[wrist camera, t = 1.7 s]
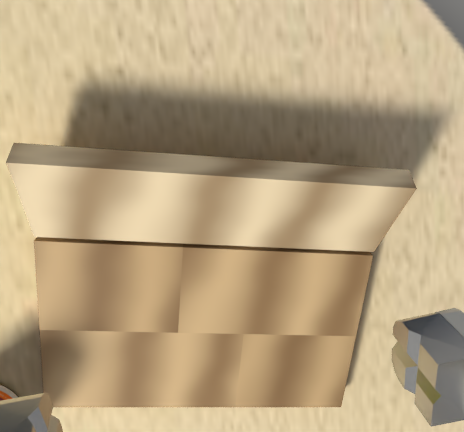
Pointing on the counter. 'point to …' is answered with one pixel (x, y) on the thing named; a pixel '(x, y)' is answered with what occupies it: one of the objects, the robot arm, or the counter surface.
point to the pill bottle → (6, 393)
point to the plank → (205, 198)
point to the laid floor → (196, 323)
